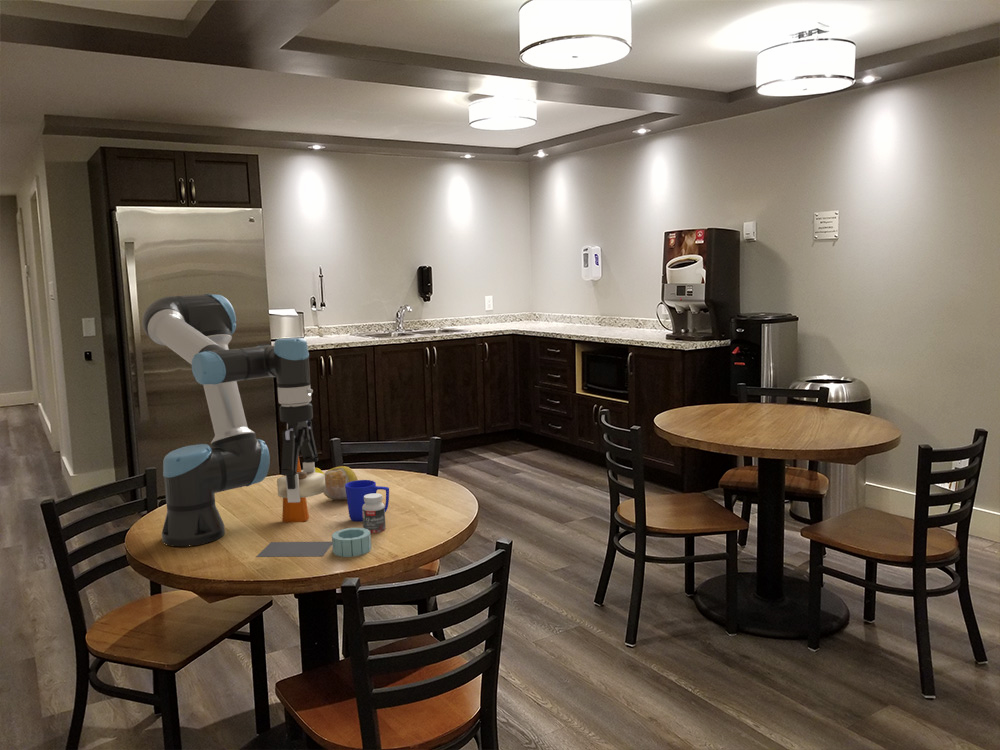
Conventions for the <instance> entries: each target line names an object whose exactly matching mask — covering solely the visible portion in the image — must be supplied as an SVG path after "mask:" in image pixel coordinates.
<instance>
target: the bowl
mask: <svg viewBox="0 0 1000 750" xmlns="http://www.w3.org/2000/svg"><path fill="white" fill-rule="evenodd" d="M371 534H372V533H370V531H369V530H368V529H364V528H363V527H347V528H342V529H339V530H336V531H335V532H333V533H332V535H331V542H332V545H331V547H332V553H333V554H334V555H335V556H336V557H337V556H338V557H342V558H352V557H358V556H359V557H360V556H362V555H365V554H368V553H369V552H370V551H371V550H372V542H371V541H372V535H371Z"/></svg>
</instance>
